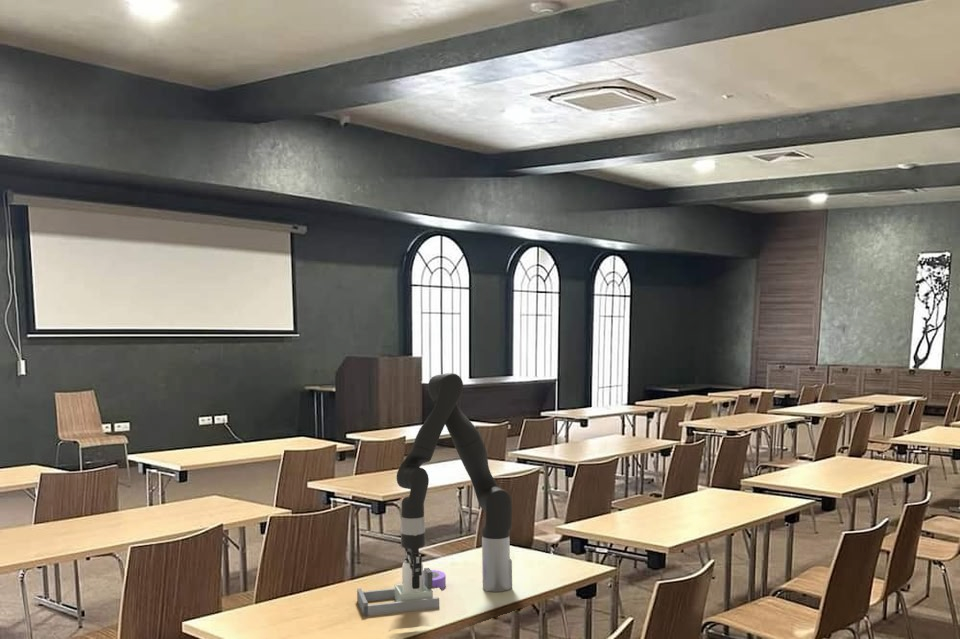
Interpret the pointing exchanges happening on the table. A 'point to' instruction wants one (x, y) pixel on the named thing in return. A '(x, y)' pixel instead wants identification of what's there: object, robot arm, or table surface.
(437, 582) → the masking tape
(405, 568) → the can
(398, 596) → the sliding tray
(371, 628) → the table surface
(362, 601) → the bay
